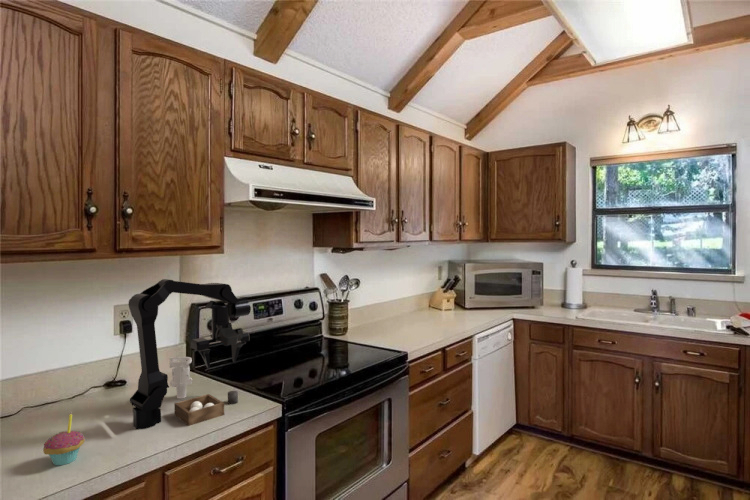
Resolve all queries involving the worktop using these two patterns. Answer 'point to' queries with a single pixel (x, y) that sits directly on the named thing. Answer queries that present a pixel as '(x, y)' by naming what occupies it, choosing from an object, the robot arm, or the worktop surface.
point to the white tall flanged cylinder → (180, 374)
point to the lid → (232, 397)
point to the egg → (196, 405)
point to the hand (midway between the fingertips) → (221, 365)
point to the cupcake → (64, 445)
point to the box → (199, 410)
